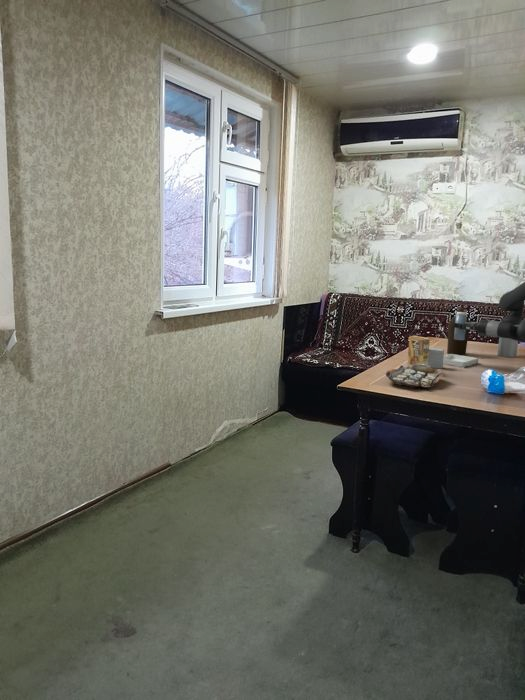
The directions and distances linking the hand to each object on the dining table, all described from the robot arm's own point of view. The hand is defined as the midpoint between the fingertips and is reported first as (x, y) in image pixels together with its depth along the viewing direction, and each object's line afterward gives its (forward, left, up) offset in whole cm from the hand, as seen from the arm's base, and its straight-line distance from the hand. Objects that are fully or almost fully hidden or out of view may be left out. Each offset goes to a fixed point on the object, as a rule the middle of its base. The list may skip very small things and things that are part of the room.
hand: (455, 324), depth 257 cm
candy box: (+30, -2, -19) cm, 36 cm away
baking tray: (+52, +9, -19) cm, 56 cm away
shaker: (0, +3, -7) cm, 7 cm away
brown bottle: (-23, -8, -19) cm, 31 cm away
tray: (0, +3, -19) cm, 19 cm away
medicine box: (+18, 0, -19) cm, 26 cm away
